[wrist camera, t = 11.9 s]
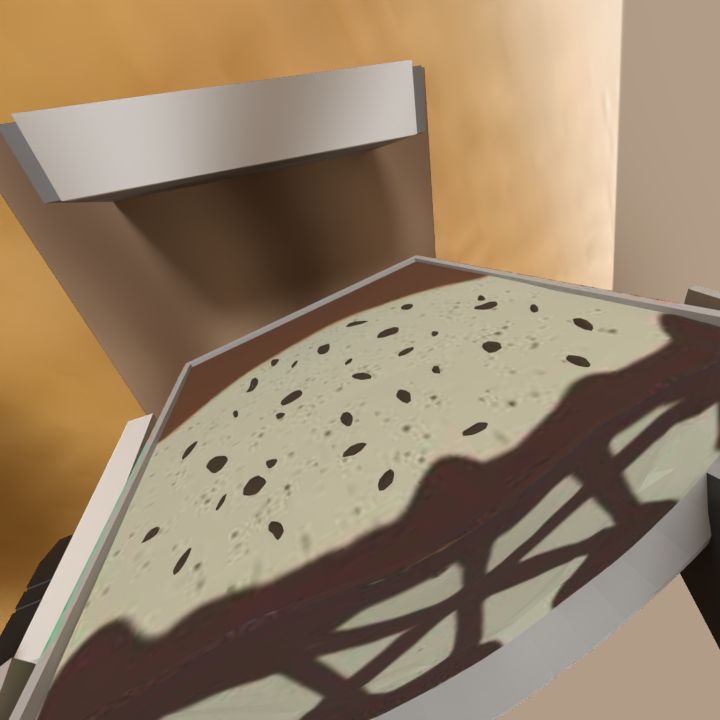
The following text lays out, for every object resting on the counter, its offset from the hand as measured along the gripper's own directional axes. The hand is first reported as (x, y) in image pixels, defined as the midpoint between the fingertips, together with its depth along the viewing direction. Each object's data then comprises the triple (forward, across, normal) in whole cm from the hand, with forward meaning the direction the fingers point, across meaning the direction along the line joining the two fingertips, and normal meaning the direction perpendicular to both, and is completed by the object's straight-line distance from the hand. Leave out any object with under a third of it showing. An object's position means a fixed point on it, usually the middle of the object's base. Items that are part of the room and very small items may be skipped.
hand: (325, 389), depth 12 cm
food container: (+1, +1, 0) cm, 2 cm away
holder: (+6, 0, 0) cm, 6 cm away
